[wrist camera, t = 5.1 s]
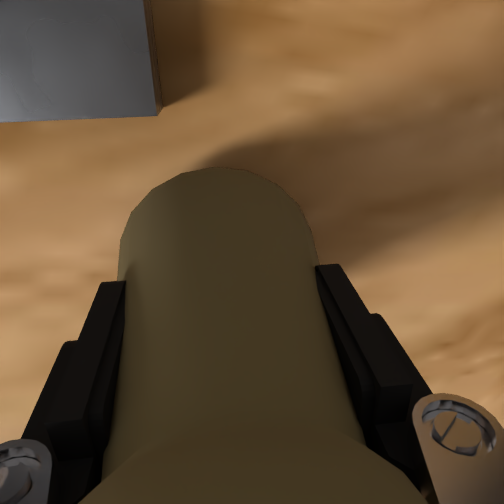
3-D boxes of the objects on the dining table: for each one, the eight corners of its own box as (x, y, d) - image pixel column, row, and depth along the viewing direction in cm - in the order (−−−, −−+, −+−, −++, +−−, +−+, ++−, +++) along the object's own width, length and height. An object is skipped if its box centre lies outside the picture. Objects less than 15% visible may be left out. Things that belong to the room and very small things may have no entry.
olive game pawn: (352, 235, 13) (797, 810, 3) (242, 363, 15) (322, 967, 5) (187, 123, 11) (94, 801, 1) (83, 288, 13) (-279, 1071, 3)
